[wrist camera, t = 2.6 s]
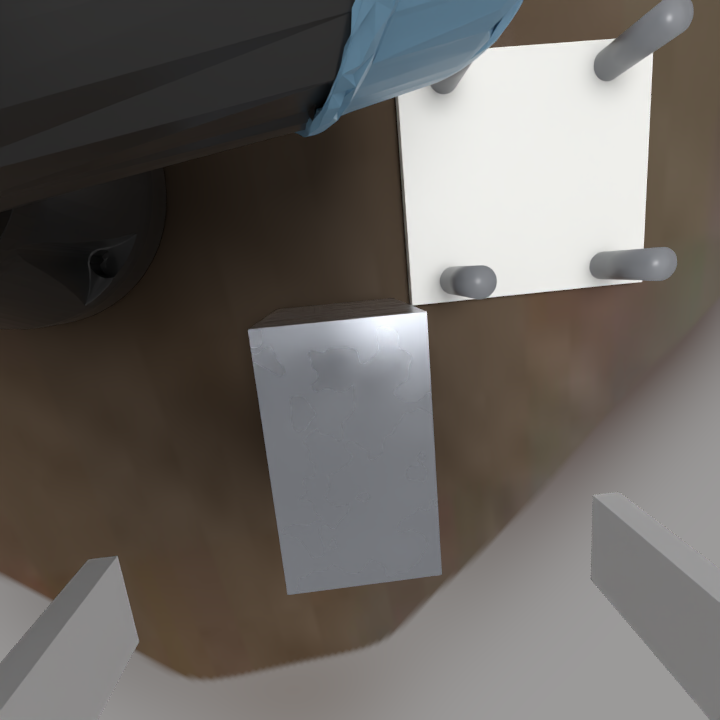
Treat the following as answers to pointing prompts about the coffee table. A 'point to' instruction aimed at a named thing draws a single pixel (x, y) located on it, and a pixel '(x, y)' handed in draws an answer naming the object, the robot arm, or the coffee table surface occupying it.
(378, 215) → the coffee table surface
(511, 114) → the pin tray
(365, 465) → the block
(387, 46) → the robot arm
